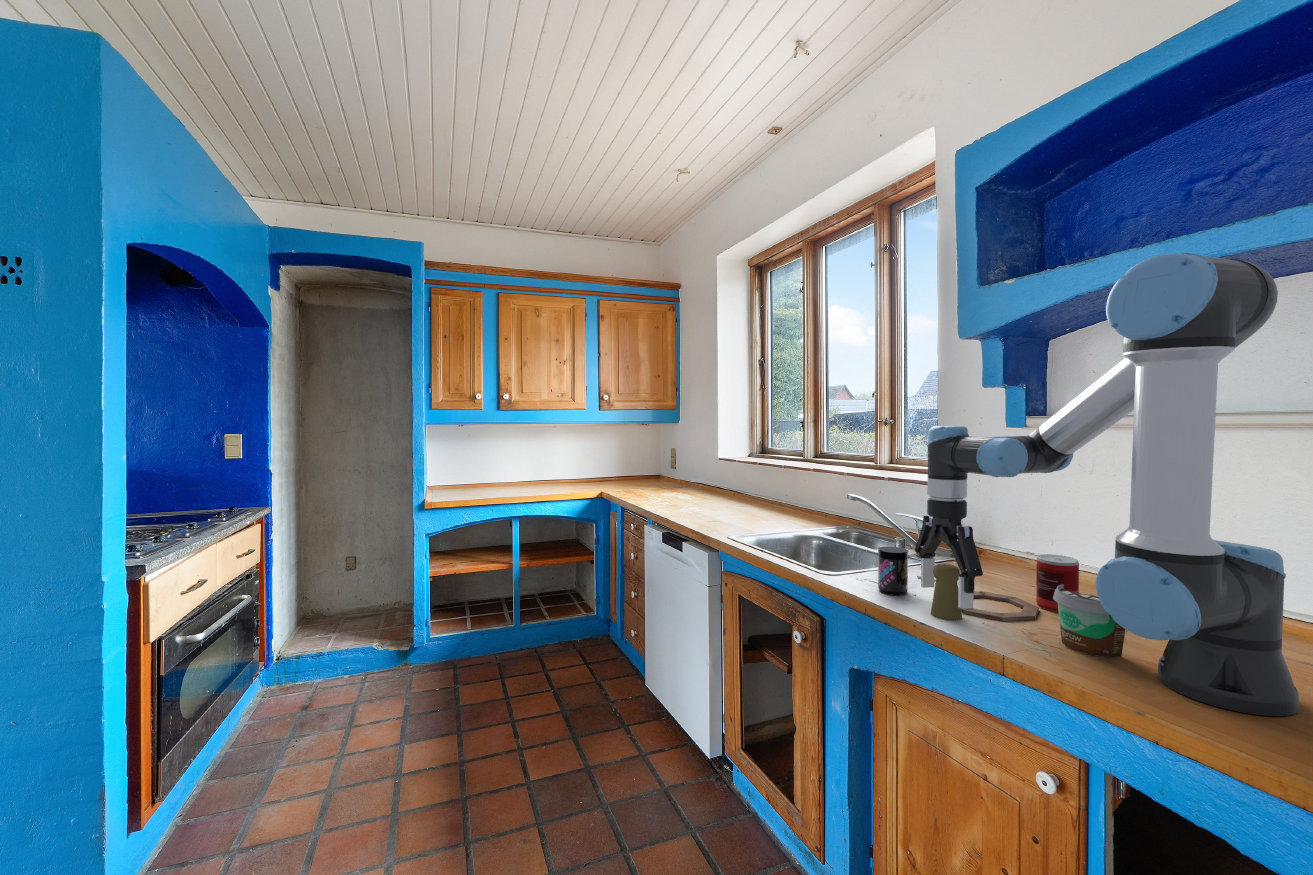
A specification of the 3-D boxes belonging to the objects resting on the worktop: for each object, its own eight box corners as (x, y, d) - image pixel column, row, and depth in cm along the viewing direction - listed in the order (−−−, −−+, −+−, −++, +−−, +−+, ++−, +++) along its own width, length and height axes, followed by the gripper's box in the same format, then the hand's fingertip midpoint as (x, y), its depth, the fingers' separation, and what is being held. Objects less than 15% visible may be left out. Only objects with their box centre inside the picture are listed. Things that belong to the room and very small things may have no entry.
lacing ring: (1056, 618, 117) (1057, 614, 117) (980, 622, 116) (980, 618, 116) (1000, 593, 134) (1000, 590, 134) (932, 596, 132) (932, 592, 132)
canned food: (1073, 604, 126) (1073, 555, 126) (1082, 615, 119) (1083, 564, 118) (1032, 599, 129) (1033, 552, 129) (1039, 610, 122) (1040, 560, 122)
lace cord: (967, 594, 134) (967, 591, 134) (950, 594, 133) (950, 592, 133) (931, 576, 149) (931, 574, 149) (916, 577, 148) (916, 575, 148)
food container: (1036, 638, 107) (1037, 586, 106) (1059, 634, 109) (1060, 583, 108) (1107, 665, 95) (1108, 607, 95) (1131, 659, 97) (1132, 602, 97)
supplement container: (877, 586, 141) (877, 545, 140) (906, 589, 138) (907, 547, 138) (878, 594, 134) (878, 551, 134) (908, 597, 132) (909, 553, 132)
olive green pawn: (968, 620, 117) (968, 568, 116) (938, 620, 117) (939, 568, 116) (953, 610, 123) (953, 560, 122) (925, 610, 123) (925, 561, 122)
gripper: (1004, 507, 107) (1002, 616, 108) (930, 490, 132) (929, 579, 132) (967, 508, 106) (965, 618, 107) (899, 490, 131) (898, 580, 132)
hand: (945, 596), depth 120 cm, fingers open, 13 cm apart
